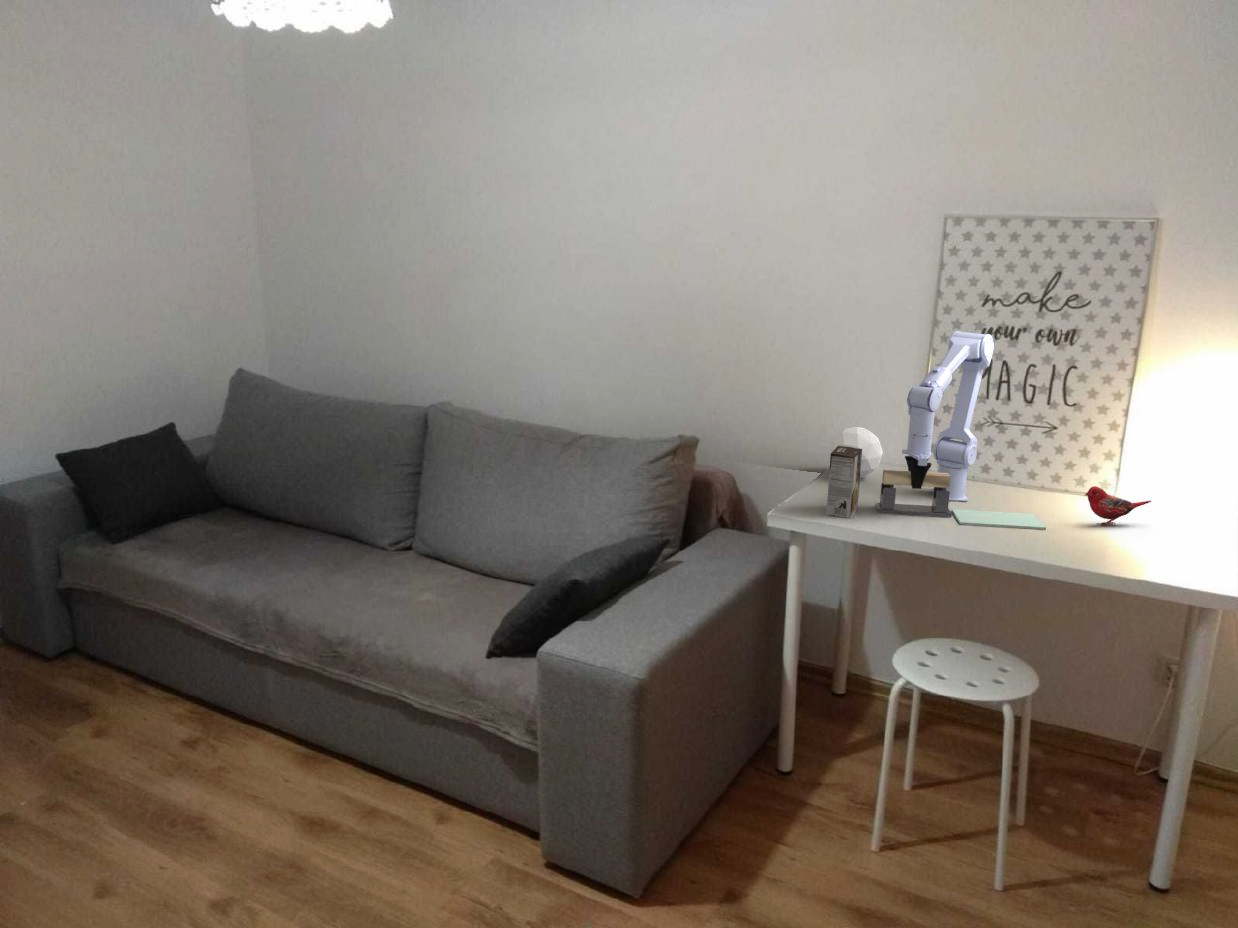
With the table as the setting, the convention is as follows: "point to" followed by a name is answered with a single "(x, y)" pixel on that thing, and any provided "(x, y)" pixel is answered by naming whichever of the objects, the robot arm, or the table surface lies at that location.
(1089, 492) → the decorative bird figurine
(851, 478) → the coffee box
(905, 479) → the beech rail
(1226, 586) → the table surface
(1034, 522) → the green mat
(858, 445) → the white faceted ovoid
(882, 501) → the grey u-shaped holder
